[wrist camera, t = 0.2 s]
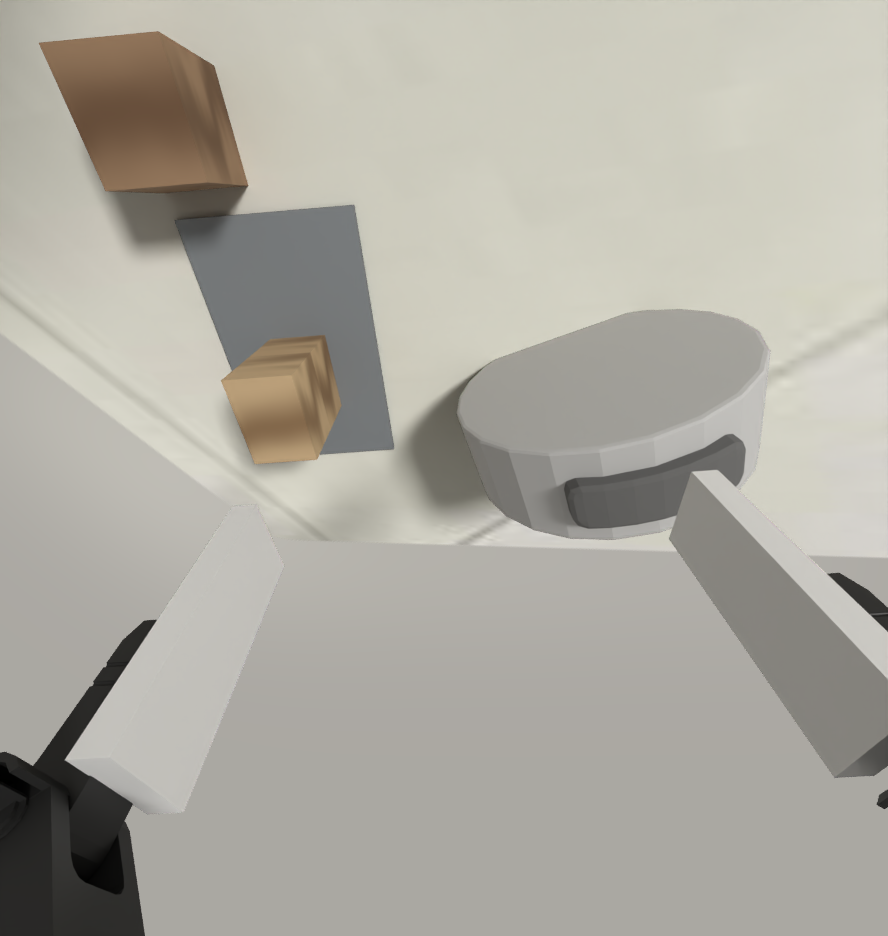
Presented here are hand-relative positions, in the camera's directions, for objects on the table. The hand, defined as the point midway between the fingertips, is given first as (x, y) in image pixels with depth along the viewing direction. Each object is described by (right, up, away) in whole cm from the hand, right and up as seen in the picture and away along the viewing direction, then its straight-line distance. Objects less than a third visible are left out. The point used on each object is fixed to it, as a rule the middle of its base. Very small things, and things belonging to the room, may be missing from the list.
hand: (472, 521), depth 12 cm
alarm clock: (+11, +11, +26) cm, 31 cm away
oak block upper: (-14, +8, +21) cm, 26 cm away
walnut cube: (-19, +26, +16) cm, 36 cm away
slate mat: (-14, +13, +24) cm, 31 cm away
